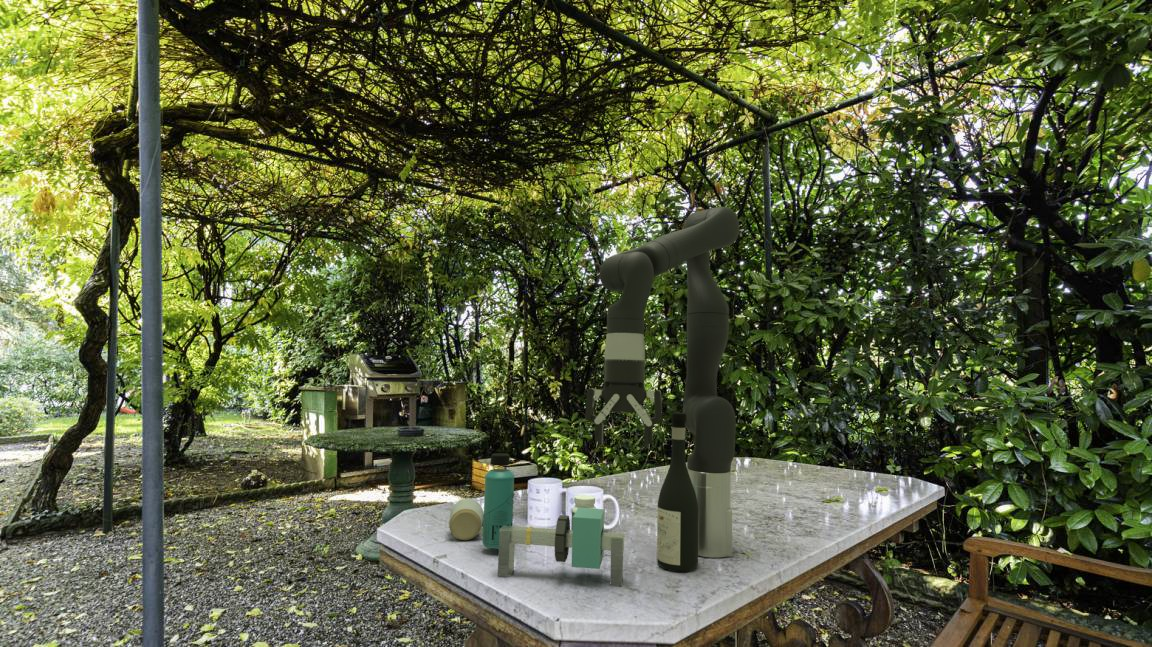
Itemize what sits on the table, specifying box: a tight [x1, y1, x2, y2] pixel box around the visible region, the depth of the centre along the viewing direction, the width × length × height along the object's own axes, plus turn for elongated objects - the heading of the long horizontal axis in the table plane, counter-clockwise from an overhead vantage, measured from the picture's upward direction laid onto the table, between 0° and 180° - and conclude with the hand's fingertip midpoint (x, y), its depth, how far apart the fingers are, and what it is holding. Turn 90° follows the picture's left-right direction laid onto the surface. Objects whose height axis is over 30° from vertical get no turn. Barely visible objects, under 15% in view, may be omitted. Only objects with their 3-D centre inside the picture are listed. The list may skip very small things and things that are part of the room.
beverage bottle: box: [481, 452, 516, 549], centre depth 118 cm, size 6×7×20 cm
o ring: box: [554, 514, 571, 563], centre depth 103 cm, size 2×8×8 cm, turn 172°
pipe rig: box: [497, 525, 625, 587], centre depth 103 cm, size 23×4×8 cm, turn 82°
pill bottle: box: [570, 494, 597, 530], centre depth 125 cm, size 6×6×10 cm
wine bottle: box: [656, 412, 699, 573], centre depth 112 cm, size 8×8×30 cm
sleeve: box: [571, 508, 605, 570], centre depth 103 cm, size 5×7×9 cm
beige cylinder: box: [448, 498, 484, 541], centre depth 127 cm, size 11×8×8 cm
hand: (623, 445), depth 104 cm, fingers open, 8 cm apart
